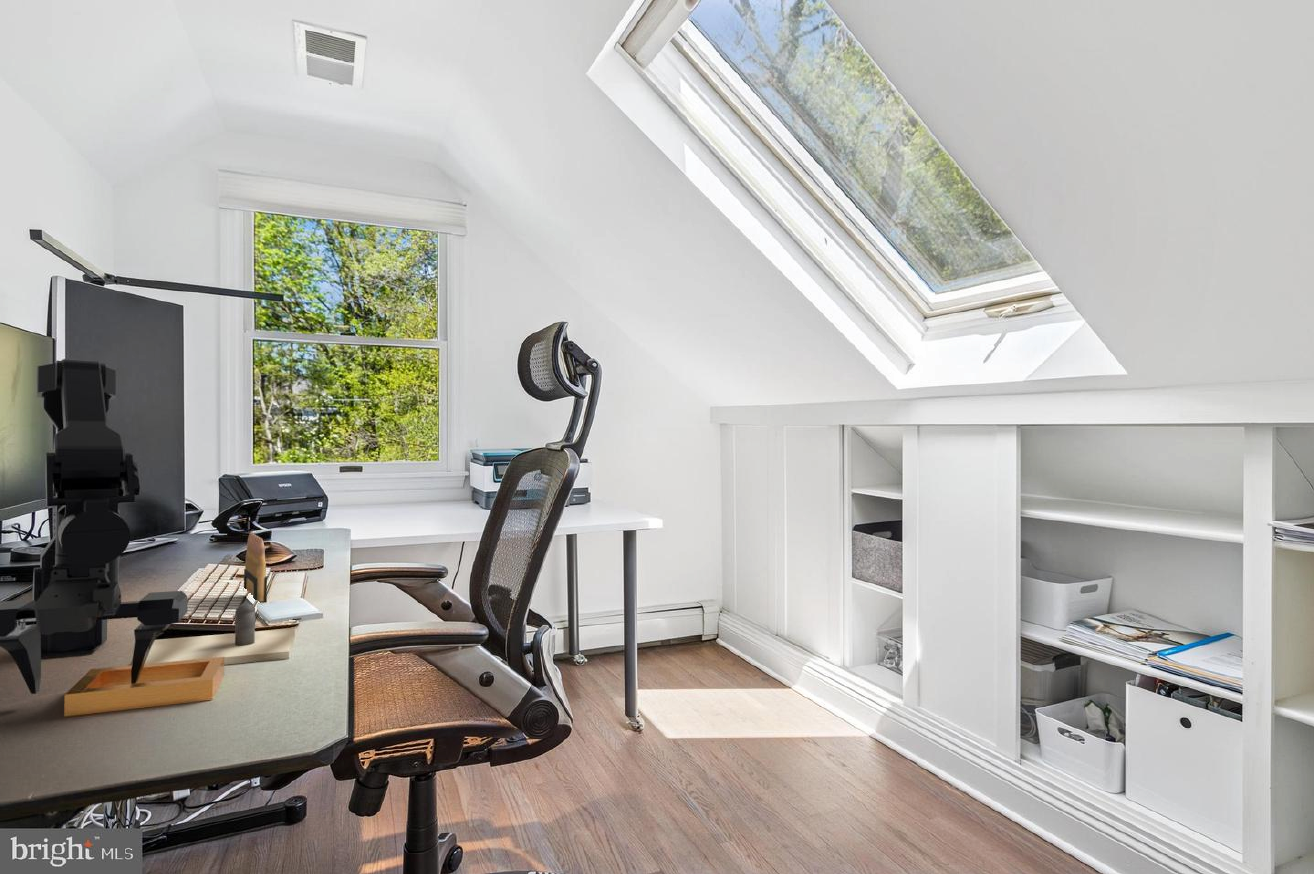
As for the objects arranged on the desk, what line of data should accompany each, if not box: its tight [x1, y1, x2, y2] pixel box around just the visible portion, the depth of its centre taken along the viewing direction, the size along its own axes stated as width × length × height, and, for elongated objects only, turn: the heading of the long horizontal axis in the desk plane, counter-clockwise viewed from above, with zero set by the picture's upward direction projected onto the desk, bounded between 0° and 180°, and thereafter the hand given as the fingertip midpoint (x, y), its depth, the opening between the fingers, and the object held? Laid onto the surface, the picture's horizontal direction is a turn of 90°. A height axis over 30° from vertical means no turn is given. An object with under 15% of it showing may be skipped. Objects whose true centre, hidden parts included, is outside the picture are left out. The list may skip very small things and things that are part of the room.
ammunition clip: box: [243, 531, 268, 603], centre depth 129 cm, size 11×2×12 cm, turn 40°
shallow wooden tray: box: [63, 657, 225, 718], centre depth 84 cm, size 14×9×2 cm, turn 114°
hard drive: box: [257, 597, 324, 623], centre depth 121 cm, size 2×8×12 cm
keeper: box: [145, 602, 296, 666], centre depth 100 cm, size 18×12×7 cm, turn 114°
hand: (86, 687), depth 82 cm, fingers open, 9 cm apart
